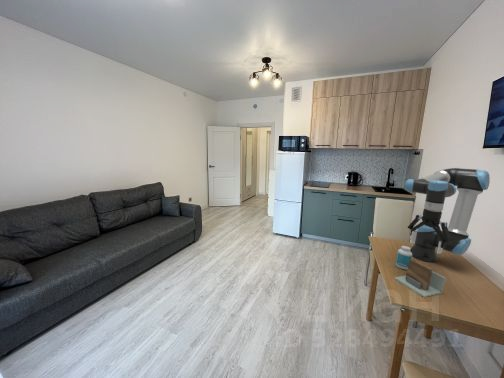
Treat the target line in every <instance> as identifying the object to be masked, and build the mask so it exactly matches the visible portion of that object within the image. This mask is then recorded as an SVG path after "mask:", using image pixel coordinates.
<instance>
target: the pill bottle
mask: <svg viewBox="0 0 504 378" xmlns="http://www.w3.org/2000/svg"><path fill="white" fill-rule="evenodd" d="M411 248H412V247H410V246H407V245H401V248H399V249H398V250H397V254H396V259H395V260H396V261H395V266H396V267H397V268H399V269H402V270H408V265H409V260H412V259H413V256H412V252H410V250H411Z"/></svg>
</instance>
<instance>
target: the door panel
mask: <svg viewBox="0 0 504 378" xmlns="http://www.w3.org/2000/svg"><path fill="white" fill-rule="evenodd" d="M432 271H433V272H434V269H433V268H432V267H429V266H428V265H425V264H424V263H422V262H419V260H415V258H414V259H413V258H411V260H409V265H408V270H407V271H406V279H407V276H409V277H411V278H412V279H414V280H416V281H417V282H419V283H421V289H422V290H424V291H425V290H428V289H429V284H430V280H431V276H432Z"/></svg>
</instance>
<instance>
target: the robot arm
mask: <svg viewBox="0 0 504 378" xmlns="http://www.w3.org/2000/svg"><path fill="white" fill-rule="evenodd" d="M490 179H491V178H490V173H489V172H488V171H487V170H484V169H483V170H481V169H478V168H477V169H474V168H471V169H470V168H461V167H460V168H459V167H452V168H451V167H450V168H445V169H441V170H437V171H435V172H433V173H432V174H431V175H428V176H425V177H421V178H419V179H414V178H413V179H412V178H411V179H410V178H409V179H407V180H406V181H405V183H404V190H405V191H407V192H411V193H415V194H416V193H417V194H423V195H426V196H425V202H424V206H423V207H424V209H423V210H422V211H423V212H422V215H421V214H416V215H415V218H414V219H413V220H412V221H411V223H410V224H409V225H408V226H407V229H409V230H410V233H409V235H410V241H409V242H410V243H414V244H413V246H412V247H410V248H411V249H410V252H412V258H414V259H417V260H418V261H419V260H420V261H422V262H427V263H436V262H437V259H438V257H437V256H438V255H439V254H442V253H443V250H444V251H446V252H449V253H451V254H455V255H456V254H457V255H461V256H462V255H464V254H466V252H467V251H468V249H469V248H470V245H471V244H472V239H471V238H470V237H469V236H470V235H469V233H468V227H469V224H470V222H471V217H472V214H473V211H474V209H475V205H476V202H477V199H478V195H481V194H482V193H483V192H484V191H487V190H488V189H489V187H490V183H491V182H490V181H491V180H490ZM457 191H458V193H457ZM456 193H457V196H456V200H455V203H454V207H453V210H452V213H451V217H450V220H449V224H448V222H446V221H445V222H444V221H441V219H442V214H443V210H444V204H445V202H446V198H450V197H452V196H454V195H455V194H456ZM420 220H421V222H419V221H420ZM418 222H419V223H418ZM417 223H418V224H417ZM436 249H437V251H436ZM437 254H438V255H437Z"/></svg>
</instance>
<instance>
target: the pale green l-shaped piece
mask: <svg viewBox="0 0 504 378" xmlns="http://www.w3.org/2000/svg"><path fill="white" fill-rule="evenodd" d="M393 278H394V280H395V281H397V282H398V283H400V284H401V285H403V286H405V287H406V288H407V289H410V290H411V291H413V292H415V293H416V294H418V295H419V296H420V297H422V296H423V297H422V298H426V297H425V296H429V297H432V296H431V295H433V296H437V295H441V294H444V293H443V292H444V291H443V290H444V287H445V284H446V276H443V275H441V274H440V273H437V272H435V271H434V270H433V271H432V276H431V280H430V284H429V289H428V290H425V291H424V290H422V289H421V283H419V282H417V281H416V280H414V279H412V278H411V277H409V276H407V279H406V275H400V276H395V277H393ZM436 294H437V295H436Z"/></svg>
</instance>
